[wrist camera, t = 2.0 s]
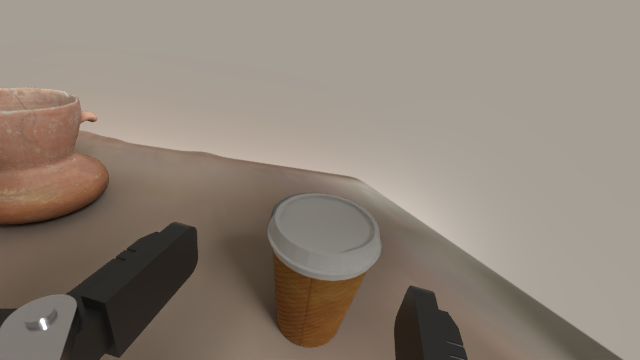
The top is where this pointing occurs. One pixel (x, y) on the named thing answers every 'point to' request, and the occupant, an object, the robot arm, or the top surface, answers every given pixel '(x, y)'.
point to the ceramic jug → (44, 156)
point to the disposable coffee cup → (319, 263)
